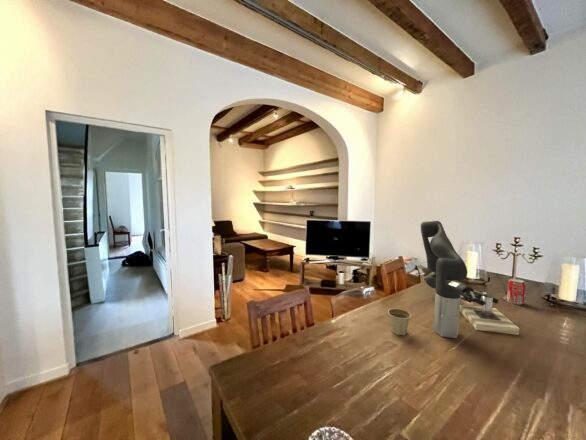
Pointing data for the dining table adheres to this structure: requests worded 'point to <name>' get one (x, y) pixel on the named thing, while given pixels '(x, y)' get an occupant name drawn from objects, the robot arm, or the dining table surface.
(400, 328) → the flower pot
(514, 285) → the soda can
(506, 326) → the block
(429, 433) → the dining table surface
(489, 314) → the slim silver can
